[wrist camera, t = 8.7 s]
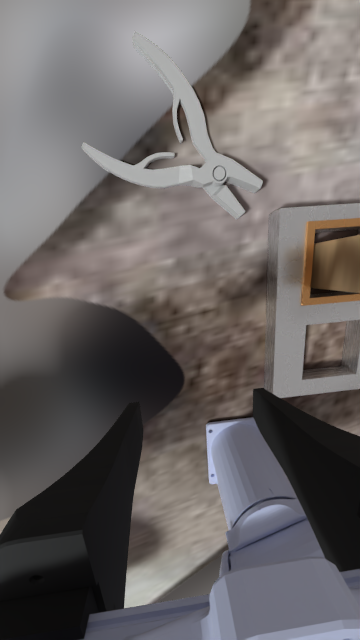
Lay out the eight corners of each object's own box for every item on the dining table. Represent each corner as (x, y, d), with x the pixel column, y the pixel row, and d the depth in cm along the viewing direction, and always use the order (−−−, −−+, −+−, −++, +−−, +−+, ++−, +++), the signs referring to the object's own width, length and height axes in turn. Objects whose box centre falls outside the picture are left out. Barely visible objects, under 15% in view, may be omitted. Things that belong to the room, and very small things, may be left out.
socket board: (364, 377, 25) (382, 387, 23) (264, 388, 24) (273, 399, 22) (391, 206, 20) (417, 198, 18) (268, 214, 20) (281, 207, 18)
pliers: (134, 13, 15) (286, 147, 17) (137, 38, 16) (276, 157, 19) (75, 143, 16) (222, 247, 19) (83, 154, 18) (218, 249, 21)
